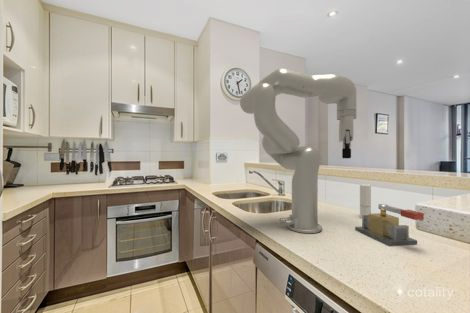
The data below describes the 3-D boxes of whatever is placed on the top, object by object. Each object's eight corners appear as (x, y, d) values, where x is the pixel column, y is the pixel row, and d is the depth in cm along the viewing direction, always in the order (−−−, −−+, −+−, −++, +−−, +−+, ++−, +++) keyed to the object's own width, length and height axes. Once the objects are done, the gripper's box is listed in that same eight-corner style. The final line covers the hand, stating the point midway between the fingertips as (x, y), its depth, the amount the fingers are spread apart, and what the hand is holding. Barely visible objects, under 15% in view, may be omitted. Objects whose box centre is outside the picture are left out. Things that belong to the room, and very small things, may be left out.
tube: (365, 219, 95) (365, 185, 95) (357, 217, 99) (357, 184, 99) (373, 219, 96) (373, 185, 96) (365, 216, 100) (365, 184, 100)
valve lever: (376, 208, 76) (376, 203, 76) (383, 208, 76) (383, 203, 76) (414, 219, 62) (414, 213, 62) (423, 219, 62) (423, 213, 62)
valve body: (388, 246, 66) (388, 216, 66) (355, 230, 81) (355, 205, 81) (417, 244, 68) (417, 214, 68) (379, 228, 82) (378, 204, 82)
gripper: (335, 119, 101) (335, 158, 101) (337, 112, 87) (338, 158, 87) (354, 118, 98) (354, 158, 98) (359, 111, 84) (359, 158, 84)
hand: (346, 158), depth 92 cm, fingers closed
